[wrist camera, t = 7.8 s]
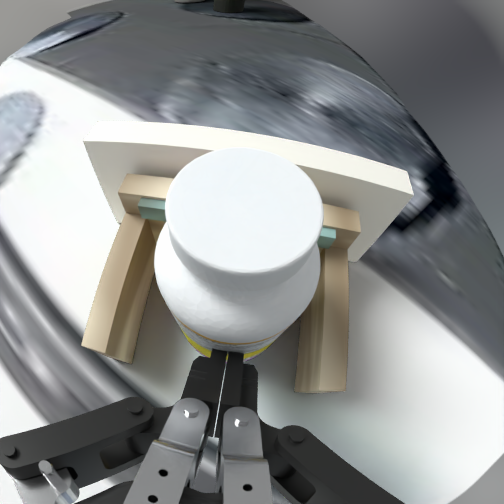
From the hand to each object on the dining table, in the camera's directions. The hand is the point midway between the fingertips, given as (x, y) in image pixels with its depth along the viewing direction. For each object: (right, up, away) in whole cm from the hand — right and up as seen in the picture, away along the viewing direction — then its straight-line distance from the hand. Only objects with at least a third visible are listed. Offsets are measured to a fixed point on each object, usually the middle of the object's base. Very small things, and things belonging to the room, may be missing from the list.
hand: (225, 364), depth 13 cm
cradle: (-1, +1, +7) cm, 7 cm away
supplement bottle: (0, +1, +7) cm, 7 cm away
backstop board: (0, +7, +10) cm, 12 cm away
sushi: (-5, +73, +45) cm, 87 cm away
